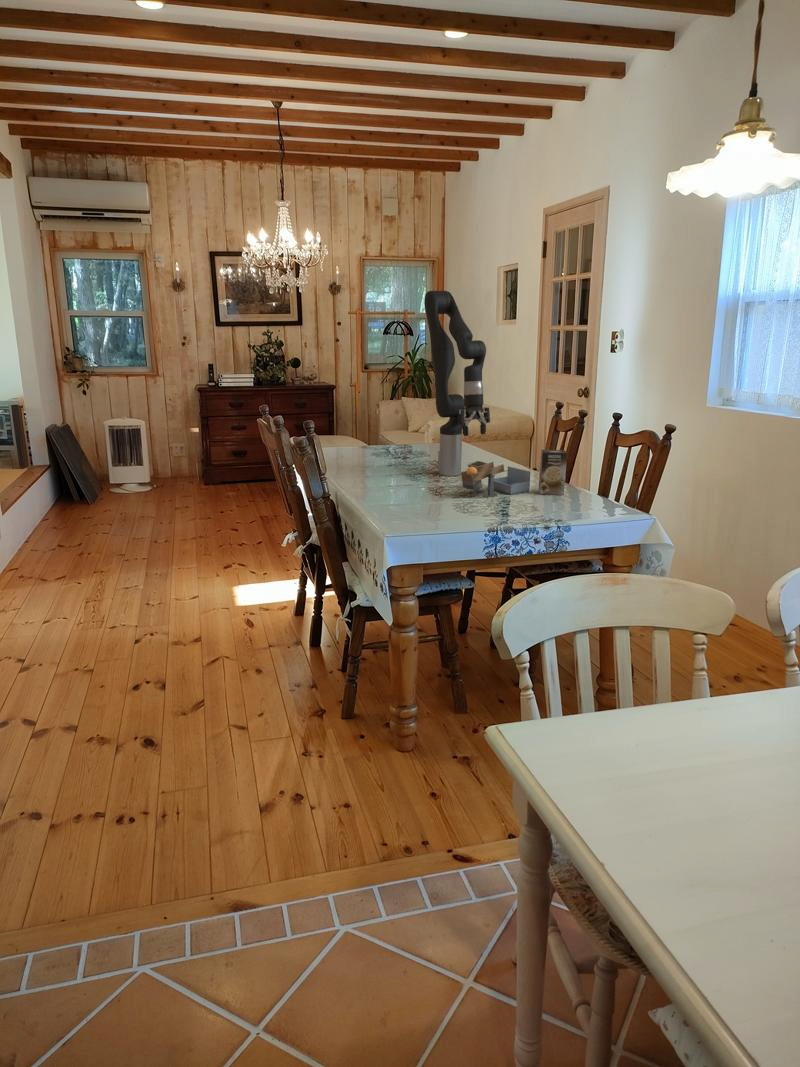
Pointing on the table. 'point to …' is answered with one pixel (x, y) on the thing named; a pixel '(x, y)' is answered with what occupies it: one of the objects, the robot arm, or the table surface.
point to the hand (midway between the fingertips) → (474, 435)
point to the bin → (513, 481)
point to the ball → (471, 471)
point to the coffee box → (552, 472)
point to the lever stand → (490, 487)
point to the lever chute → (479, 474)
